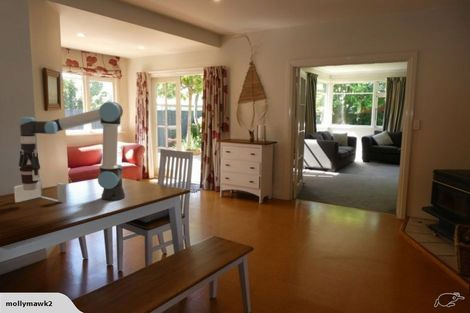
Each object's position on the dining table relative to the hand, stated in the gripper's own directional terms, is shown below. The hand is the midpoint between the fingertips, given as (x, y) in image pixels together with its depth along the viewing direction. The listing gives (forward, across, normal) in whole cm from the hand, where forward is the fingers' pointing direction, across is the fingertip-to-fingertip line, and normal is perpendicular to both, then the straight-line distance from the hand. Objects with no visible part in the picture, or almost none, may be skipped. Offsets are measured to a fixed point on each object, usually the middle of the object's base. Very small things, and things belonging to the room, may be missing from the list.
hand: (30, 179), depth 199 cm
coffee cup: (+6, 0, 0) cm, 6 cm away
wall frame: (+16, -2, +14) cm, 21 cm away
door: (+16, -12, +6) cm, 21 cm away
